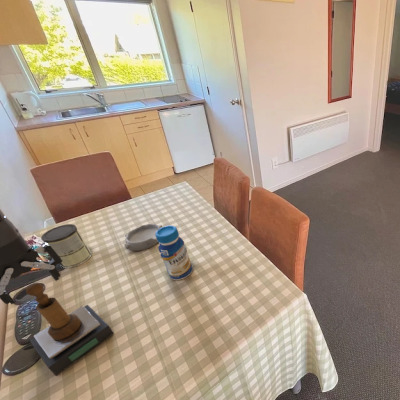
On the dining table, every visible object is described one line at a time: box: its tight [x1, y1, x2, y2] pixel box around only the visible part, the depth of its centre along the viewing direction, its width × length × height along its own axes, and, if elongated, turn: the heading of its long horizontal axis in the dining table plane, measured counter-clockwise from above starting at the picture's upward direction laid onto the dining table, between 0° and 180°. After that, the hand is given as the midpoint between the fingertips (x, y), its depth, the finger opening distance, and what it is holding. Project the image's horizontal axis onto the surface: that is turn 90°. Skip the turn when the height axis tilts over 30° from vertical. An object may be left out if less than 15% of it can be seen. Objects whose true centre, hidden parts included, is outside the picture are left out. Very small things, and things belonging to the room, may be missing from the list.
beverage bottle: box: [155, 225, 194, 281], centre depth 97 cm, size 8×8×20 cm
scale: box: [29, 304, 115, 377], centre depth 77 cm, size 14×14×5 cm
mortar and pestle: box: [25, 282, 81, 340], centre depth 71 cm, size 7×6×18 cm
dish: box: [124, 223, 163, 252], centre depth 117 cm, size 14×14×5 cm
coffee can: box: [40, 223, 93, 269], centre depth 105 cm, size 10×10×14 cm
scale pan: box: [33, 305, 101, 359], centre depth 76 cm, size 12×12×1 cm
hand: (35, 290), depth 67 cm, fingers open, 8 cm apart
